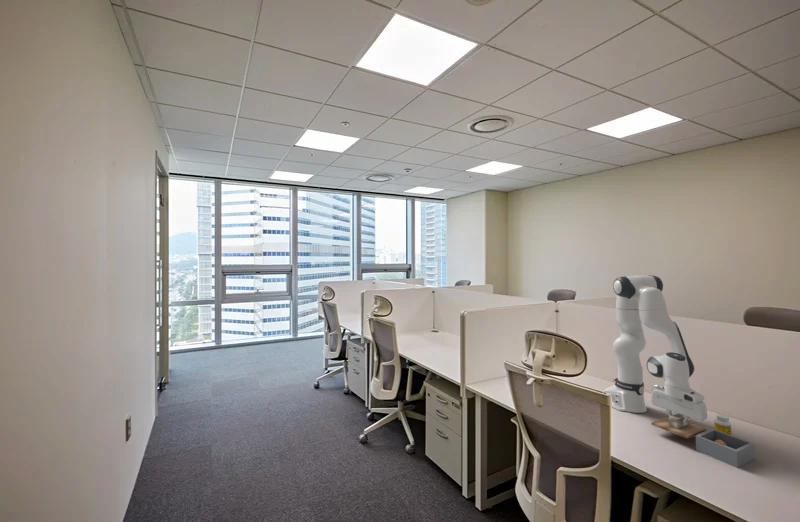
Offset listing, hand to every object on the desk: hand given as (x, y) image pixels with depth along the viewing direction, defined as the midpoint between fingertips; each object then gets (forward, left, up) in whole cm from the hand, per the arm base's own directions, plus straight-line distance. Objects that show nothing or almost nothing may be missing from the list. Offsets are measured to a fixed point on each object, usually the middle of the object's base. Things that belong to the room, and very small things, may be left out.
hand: (678, 422), depth 152 cm
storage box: (+16, +1, -7) cm, 17 cm away
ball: (+13, +3, -6) cm, 15 cm away
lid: (0, 0, -2) cm, 2 cm away
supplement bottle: (+8, +18, -7) cm, 21 cm away
